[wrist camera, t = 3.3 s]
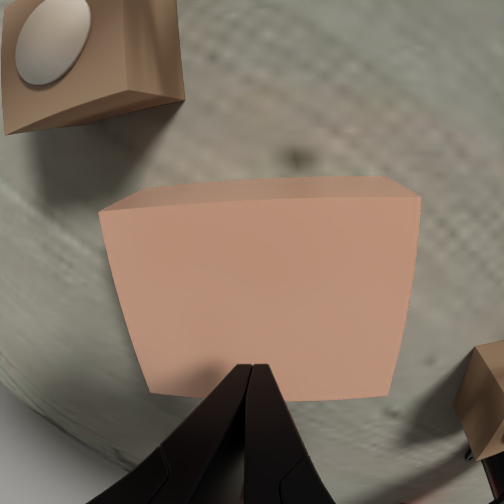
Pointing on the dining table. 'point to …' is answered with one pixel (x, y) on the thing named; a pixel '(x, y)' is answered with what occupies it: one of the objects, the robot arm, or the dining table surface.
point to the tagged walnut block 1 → (87, 61)
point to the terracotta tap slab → (266, 281)
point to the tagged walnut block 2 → (483, 400)
